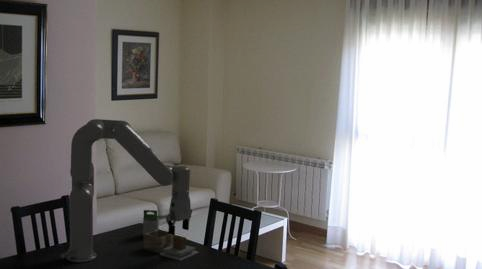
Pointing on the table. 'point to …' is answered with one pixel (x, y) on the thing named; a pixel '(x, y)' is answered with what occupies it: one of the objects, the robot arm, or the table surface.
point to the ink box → (150, 221)
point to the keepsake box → (158, 240)
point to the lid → (179, 247)
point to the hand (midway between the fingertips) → (178, 231)
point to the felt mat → (178, 256)
